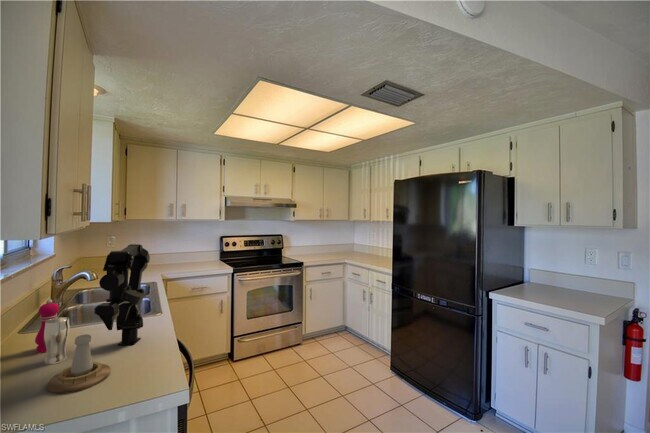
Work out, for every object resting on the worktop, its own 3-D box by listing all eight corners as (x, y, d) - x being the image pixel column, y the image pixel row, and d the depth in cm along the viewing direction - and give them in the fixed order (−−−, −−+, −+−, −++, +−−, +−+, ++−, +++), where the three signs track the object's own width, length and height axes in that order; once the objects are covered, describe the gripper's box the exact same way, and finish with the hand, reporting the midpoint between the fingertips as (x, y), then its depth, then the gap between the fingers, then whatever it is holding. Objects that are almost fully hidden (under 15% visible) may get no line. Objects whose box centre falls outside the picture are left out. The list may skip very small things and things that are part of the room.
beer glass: (48, 357, 110) (50, 317, 110) (71, 355, 113) (73, 316, 113) (38, 366, 104) (40, 324, 104) (62, 363, 106) (64, 322, 106)
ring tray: (71, 367, 103) (71, 359, 103) (119, 366, 106) (120, 357, 106) (32, 394, 88) (33, 384, 88) (91, 392, 90) (91, 382, 90)
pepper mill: (64, 345, 120) (66, 297, 121) (48, 353, 113) (50, 302, 113) (46, 345, 120) (48, 296, 120) (29, 353, 113) (31, 301, 113)
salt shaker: (94, 369, 101) (96, 331, 101) (90, 377, 96) (91, 337, 96) (73, 372, 98) (75, 333, 98) (67, 381, 93) (69, 340, 93)
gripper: (129, 290, 102) (127, 334, 102) (152, 279, 121) (151, 316, 121) (94, 290, 101) (92, 335, 101) (123, 279, 119) (122, 317, 119)
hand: (117, 325), depth 110 cm, fingers open, 9 cm apart
